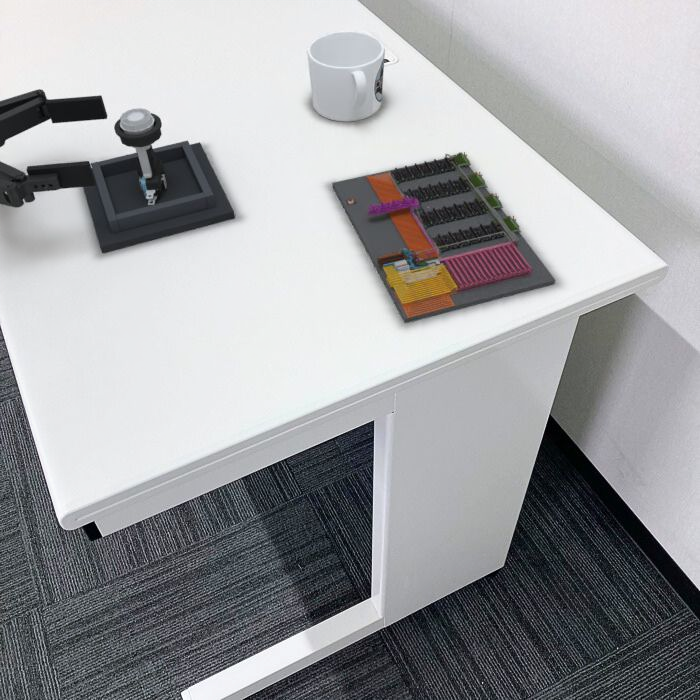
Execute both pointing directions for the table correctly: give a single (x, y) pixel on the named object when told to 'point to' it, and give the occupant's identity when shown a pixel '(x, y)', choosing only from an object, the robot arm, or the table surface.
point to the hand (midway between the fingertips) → (99, 138)
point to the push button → (143, 148)
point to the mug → (346, 75)
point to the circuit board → (439, 237)
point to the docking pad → (168, 212)
